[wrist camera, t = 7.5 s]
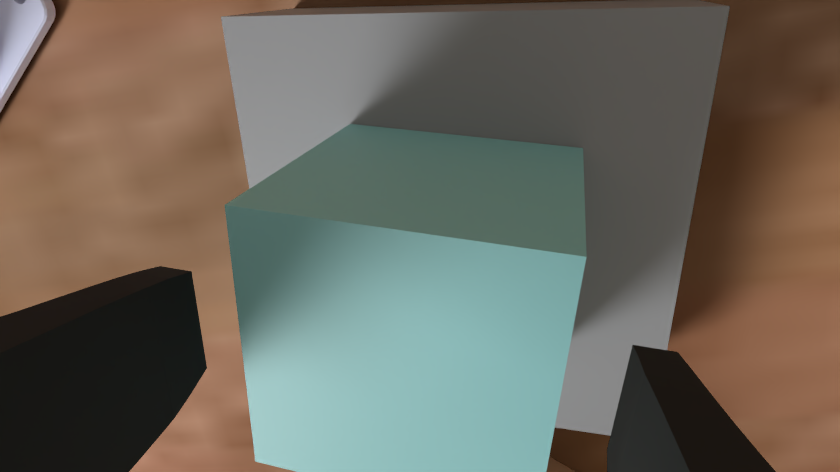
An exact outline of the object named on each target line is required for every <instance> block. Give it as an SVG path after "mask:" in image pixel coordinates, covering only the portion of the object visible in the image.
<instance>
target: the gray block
mask: <svg viewBox="0 0 840 472" xmlns="http://www.w3.org/2000/svg"><path fill="white" fill-rule="evenodd" d="M729 9H730V6H727V5H722V4H717V3H711V2H706V1H701V0H623V1H581V2H540V3H498V4H457V5H415V6H374V7H332V8H294V9H285V10H276V11H267V12H258V13H250V14H241V15H232V16H223V17H221V20H222V26H223V32H224V38H225V44H226V50H227V56H228V62H229V68H230V74H231V80H232V86H233V92H234V98H235V104H236V110H237V116H238V122H239V128H240V134H241V140H242V146H243V152H244V158H245V164H246V170H247V176H248V183H249V189H250V188H252V187H253V186H255V185H256V184H258V183H259V182H261V181H263V180H264V179H266V178H267V177H269V176H270V175H272V174H273V173H275V172H276V171H278V170H280V169H281V168H283V167H284V166H286V165H287V164H289V163H290V162H292V161H293V160H295V159H297V158H298V157H300V156H301V155H303V154H304V153H306V152H307V151H309V150H310V149H312V148H314V147H315V146H317V145H318V144H320V143H321V142H323V141H324V140H326V139H327V138H329V137H331V136H332V135H334V134H335V133H337V132H338V131H340V130H341V129H343V128H344V127H346V126H348V125H349V124H357V125H366V126H376V127H386V128H395V129H405V130H414V131H424V132H434V133H443V134H453V135H462V136H472V137H482V138H491V139H501V140H510V141H520V142H530V143H539V144H549V145H558V146H568V147H578V148H583V160H584V192H585V223H586V255H587V257H586V263H585V268H584V273H583V279H582V284H581V289H580V295H579V300H578V305H577V311H576V316H575V321H574V327H573V332H572V337H571V343H570V348H569V353H568V359H567V364H566V369H565V375H564V380H563V386H562V391H561V396H560V402H559V407H558V412H557V418H556V423H555V428H562V429H569V430H576V431H582V432H589V433H596V434H602V435H609V436H611V432H612V428H613V424H614V420H615V415H616V411H617V407H618V403H619V399H620V395H621V391H622V387H623V382H624V378H625V374H626V370H627V366H628V362H629V358H630V354H631V350H632V345H638V346H644V347H650V348H656V349H662V350H667V347H668V342H669V337H670V331H671V326H672V320H673V315H674V309H675V304H676V298H677V293H678V287H679V282H680V276H681V271H682V266H683V260H684V255H685V249H686V244H687V238H688V233H689V227H690V222H691V216H692V211H693V205H694V200H695V194H696V189H697V184H698V178H699V173H700V167H701V162H702V156H703V151H704V145H705V140H706V134H707V129H708V123H709V118H710V113H711V107H712V102H713V96H714V91H715V85H716V80H717V74H718V69H719V63H720V58H721V52H722V47H723V41H724V36H725V31H726V25H727V20H728V14H729Z"/></svg>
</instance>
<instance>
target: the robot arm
mask: <svg viewBox="0 0 840 472" xmlns="http://www.w3.org/2000/svg"><path fill="white" fill-rule="evenodd" d="M55 16H56V14H55V7H54V4H53V2H52V0H0V112H1V110H2V109H3V107H4V105H5V104H6V102H7V100H8V98H9V97H10V95H11V93H12V92H13V90H14V88H15V86H16V85H17V83H18V81H19V80H20V78H21V76H22V75H23V73H24V71H25V69H26V68H27V66H28V64H29V63H30V61H31V59H32V57H33V56H34V54H35V52H36V51H37V49H38V47H39V45H40V44H41V42H42V40H43V39H44V37H45V35H46V33H47V32H48V30H49V28H50V27H51V25H52V23H53V21H54V19H55ZM206 368H207V366H206V360H205V354H204V347H203V341H202V335H201V329H200V322H199V316H198V310H197V304H196V297H195V291H194V285H193V279H192V272H191V271H185V270H179V269H173V268H167V267H161V266H160V267H155V268H151V269H147V270H143V271H139V272H135V273H132V274H128V275H125V276H122V277H119V278H115V279H112V280H109V281H106V282H103V283H100V284H97V285H94V286H91V287H88V288H85V289H82V290H79V291H76V292H73V293H70V294H67V295H64V296H61V297H58V298H55V299H52V300H49V301H46V302H44V303H41V304H38V305H35V306H32V307H29V308H26V309H23V310H20V311H17V312H14V313H11V314H8V315H5V316H2V317H0V472H129V471H130V470H131V469H132V468H133V466H134V465H135V464H136V463H137V462H138V461H139V459H140V458H141V457H142V456H143V455H144V454H145V452H146V451H147V450H148V449H149V448H150V447H151V445H152V444H153V443H154V442H155V441H156V439H157V438H158V437H159V436H160V435H161V434H162V432H163V431H164V430H165V429H166V428H167V426H168V425H169V424H170V423H171V422H172V420H173V419H174V418H175V416H176V415H177V413H178V412H179V410H180V409H181V408H182V406H183V405H184V403H185V402H186V400H187V399H188V397H189V396H190V394H191V393H192V391H193V389H194V388H195V386H196V385H197V383H198V381H199V380H200V378H201V377H202V375H203V373H204V372H205V370H206ZM607 472H775V470H774V469H773V468H772V467H771V466H770V465H769V463H768V462H767V461H766V460H765V459H764V458H763V457H762V455H761V454H760V453H759V452H758V451H757V449H756V448H755V447H754V446H753V445H752V444H751V442H750V441H749V440H748V439H747V438H746V436H745V435H744V434H743V433H742V432H741V430H740V429H739V428H738V427H737V426H736V424H735V423H734V422H733V421H732V420H731V418H730V417H729V416H728V415H727V413H726V412H725V411H724V410H723V408H722V407H721V406H720V405H719V403H718V402H717V401H716V400H715V398H714V397H713V396H712V395H711V393H710V392H709V391H708V390H707V388H706V387H705V386H704V385H703V383H702V382H701V381H700V379H699V378H698V377H697V376H696V374H695V373H694V372H693V371H692V369H691V368H690V367H689V366H688V364H687V363H686V362H685V361H684V359H683V358H682V357H681V356H680V354H679V353H678V352H674V351H668V350H662V349H656V348H650V347H644V346H638V345H632V350H631V354H630V358H629V362H628V366H627V370H626V374H625V378H624V382H623V387H622V391H621V395H620V399H619V403H618V407H617V411H616V415H615V420H614V424H613V428H612V432H611V436H610V440H609V444H608V448H607Z"/></svg>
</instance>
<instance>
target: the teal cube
mask: <svg viewBox="0 0 840 472" xmlns="http://www.w3.org/2000/svg"><path fill="white" fill-rule="evenodd" d="M225 212H226V220H227V229H228V237H229V245H230V254H231V262H232V270H233V279H234V287H235V295H236V303H237V312H238V320H239V328H240V337H241V345H242V353H243V362H244V370H245V378H246V387H247V395H248V403H249V411H250V420H251V428H252V436H253V445H254V453H255V461H256V462H260V463H264V464H268V465H272V466H276V467H280V468H284V469H288V470H292V471H296V472H546V471H547V466H548V460H549V455H550V450H551V444H552V439H553V434H554V428H555V423H556V418H557V412H558V407H559V402H560V396H561V391H562V386H563V380H564V375H565V369H566V364H567V359H568V353H569V348H570V343H571V337H572V332H573V327H574V321H575V316H576V311H577V305H578V300H579V295H580V289H581V284H582V279H583V273H584V268H585V263H586V257H587V255H586V223H585V192H584V160H583V148H578V147H568V146H558V145H549V144H539V143H530V142H520V141H510V140H501V139H491V138H482V137H472V136H462V135H453V134H443V133H434V132H424V131H414V130H405V129H395V128H386V127H376V126H366V125H357V124H349V125H348V126H346V127H344V128H343V129H341V130H340V131H338V132H337V133H335V134H334V135H332V136H331V137H329V138H327V139H326V140H324V141H323V142H321V143H320V144H318V145H317V146H315V147H314V148H312V149H310V150H309V151H307V152H306V153H304V154H303V155H301V156H300V157H298V158H297V159H295V160H293V161H292V162H290V163H289V164H287V165H286V166H284V167H283V168H281V169H280V170H278V171H276V172H275V173H273V174H272V175H270V176H269V177H267V178H266V179H264V180H263V181H261V182H259V183H258V184H256V185H255V186H253V187H252V188H250V189H249V190H247V191H246V192H244V193H242V194H241V195H239V196H238V197H236V198H235V199H233V200H232V201H230V202H229V203H227V204H225Z"/></svg>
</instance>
